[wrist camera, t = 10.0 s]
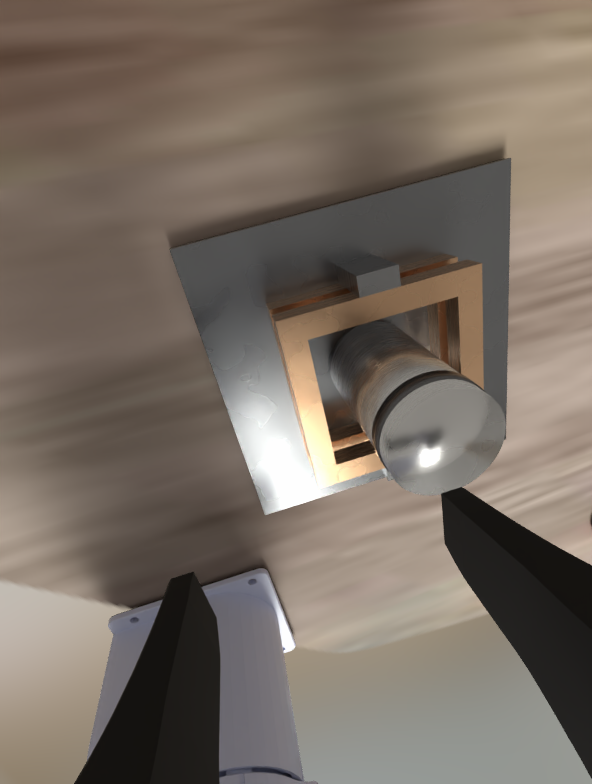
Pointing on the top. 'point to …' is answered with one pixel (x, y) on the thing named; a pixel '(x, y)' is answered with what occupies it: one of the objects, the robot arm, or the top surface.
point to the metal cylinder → (416, 409)
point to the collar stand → (347, 316)
